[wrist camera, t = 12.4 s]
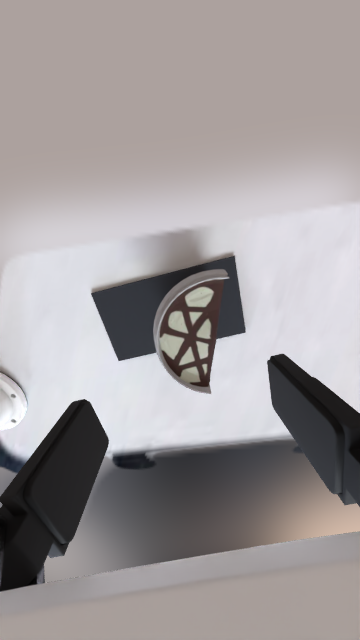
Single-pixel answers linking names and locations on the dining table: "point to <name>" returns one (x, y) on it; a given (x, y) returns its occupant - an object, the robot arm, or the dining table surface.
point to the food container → (190, 328)
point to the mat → (144, 300)
